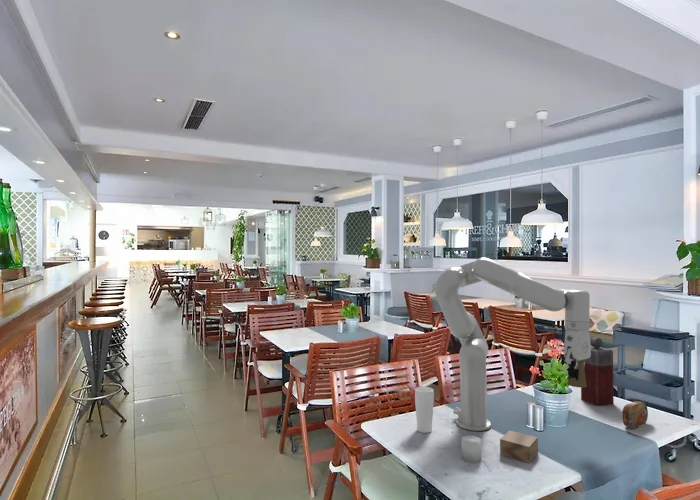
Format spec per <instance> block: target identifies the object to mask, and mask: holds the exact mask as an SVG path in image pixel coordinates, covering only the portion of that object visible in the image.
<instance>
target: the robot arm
mask: <svg viewBox="0 0 700 500" xmlns="http://www.w3.org/2000/svg"><path fill="white" fill-rule="evenodd" d="M480 282H484V283H486V284H489V285H491V286H493V287H495V288H498V289H500V290H501V291H504V292H507V293H509V294H510V295H512V296H515V297H518V298H520V299H521V300H522V299H523V300H525V301H527V302H529V303H530V304H533V305H535V306H537V307H540V308H542V309H543V310H544V309H545V310H547V311H548V312H549V311H550V312H560V311H561V310H562V309H564V330H565V334H564V343H563V344H564V345H563V356H564V358H565V359H564V362H565V363H566V364H567V368H568V370H567V371H568V375H567V379H568V378H569V379H570V378H576V381H578V377H579V369H577V367H578V361H580V360H584V359H588V358H590V356H591V346H592V345H591V335H590V334H591V333H590V309H591V307H590V297H591V295H590V293H589V291H587V290H583V289H581V290H580V289H562V288H561V289H560V288H554V287H549V286H548V285H545V284H543V283H540V282H538V281H536V280H534V279H532V278H530V277H528V276H527V275H525V273H522V272H520V271H518V270H516V269H513V268H511V267H508V266H506V265H504V264H501V263H499V262H497V261H494V260H493V259H491V258H488V257H479V258H477V259H475V260H474V261H472V262H468V263H465V264H461V265H458V266H451V267H449V268H447V269H445V270H444V271H443V272H441V274H440V275H439V277H438V278H437V280H436V282H435V287H434V291H435V292H434V293H435V297H436V298H435V299H436V300H437V303H438V304H439V307H440V309H441V312H442V314H443V317H444V319H445V322H446V324H447V326H448V329H449V331H450V332H451V335H453V336H454V337H455V338H456V339H458V340H459V343H460V344H461V347H460V350H459V354H458V356H459V357H458V358H459V379H460V380H459V383H460V384H459V386H460V389H459V390H460V392H459V393H460V396H459V397H460V398H459V399H460V406H459V407H458V406H455V408H454V410H453V414H454V415H457V418H456V420H455V421H456V422H455V423H456V425H457V426H458V427H459V428H461V429H465V430H468V431H475V432H484V431H488V430H490V429H491V427H492V423H491V421H490V420H488V419H487V418H488V417H487V416H488V414H487V411H488V410H487V409H488V408H487V407H488V406H487V405H488V404H487V401H488V400H487V385H488V384H487V356H488V354H489V346H488V342H487V340H486V338H485V336H484V334H483V331H482V329H481V327H480V326H479V323H478V321H477V319H476V318H475V316H474V315H473V314H472V313H471V312H468V311H467V310H466V308H465V305H464V303H463V300H462V299H461V297H460V295H459V289H461V288H464V287H467V286H470V285H474V284H477V283H480ZM571 357H573V358H574V359H571ZM573 361H575V364H574V362H573ZM585 361H586V360H585ZM584 367H585V362H584Z"/></svg>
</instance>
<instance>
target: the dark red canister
mask: <svg viewBox="0 0 700 500" xmlns="http://www.w3.org/2000/svg"><path fill="white" fill-rule="evenodd" d="M590 344H591V356H590V358H588V359H586V361H585V367H584V370H585V378H586V385H587V387H583V388H580V398H581V399H580V400H581V401H584V402H586V403H588V404H591V405H593V406H596V407H601V406H610V405H614V403H615V401H614V400H615V399H614V351H613V350H612V349H611V348H610V349H609V348H606V347H602V345H603V340H602V339H601V338H600V337H596V336H595V337H592V338H590Z"/></svg>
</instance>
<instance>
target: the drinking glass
mask: <svg viewBox="0 0 700 500" xmlns="http://www.w3.org/2000/svg"><path fill="white" fill-rule="evenodd" d="M434 395H435V393H434V389H433V388H432V387H428V386H418V387H415V389H414V403H415V404H414V405H415V406H414V407H415V418H416V429H417V432H419V433H423V434H429V433H431V432H432V431H433V416H434V403H435V401H434V400H435V399H434V398H435V396H434Z"/></svg>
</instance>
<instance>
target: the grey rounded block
mask: <svg viewBox="0 0 700 500" xmlns="http://www.w3.org/2000/svg"><path fill="white" fill-rule="evenodd" d="M460 440H461V441H460V442H461V450H460V451H461V460H463V461H464V462H466V463H469V464H478V463H479V464H480V462H482V439H481V438H480V437H478V436H475V435H463V436H461V439H460Z"/></svg>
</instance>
